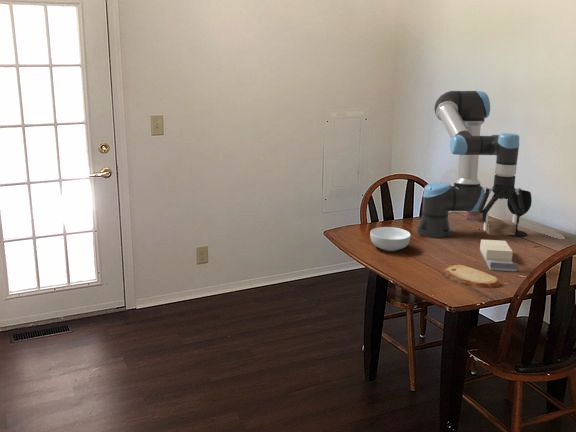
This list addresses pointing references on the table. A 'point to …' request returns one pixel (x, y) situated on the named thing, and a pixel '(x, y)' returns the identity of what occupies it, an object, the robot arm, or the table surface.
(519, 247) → the table surface
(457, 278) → the bread slice
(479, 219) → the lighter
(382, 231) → the cereal bowl
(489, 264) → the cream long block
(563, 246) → the table surface
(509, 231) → the tan brown block
